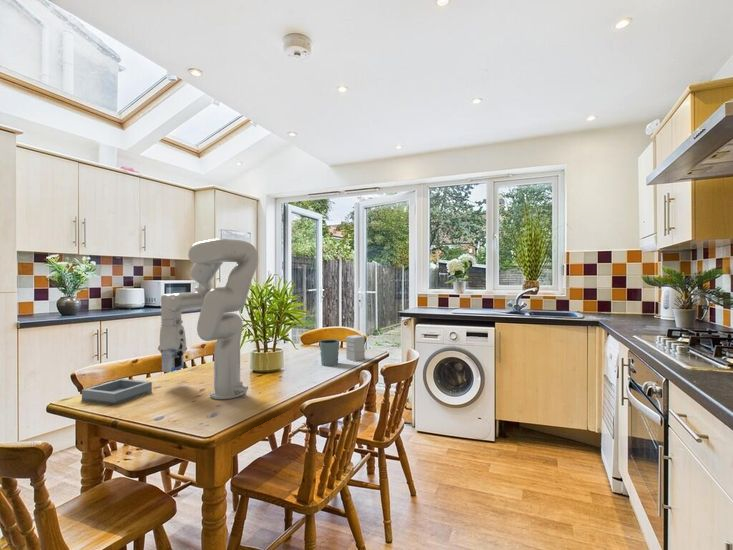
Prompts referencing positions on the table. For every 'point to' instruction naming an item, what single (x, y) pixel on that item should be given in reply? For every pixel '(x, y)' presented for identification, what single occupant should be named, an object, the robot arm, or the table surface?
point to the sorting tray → (116, 391)
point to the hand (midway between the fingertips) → (173, 365)
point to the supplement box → (355, 347)
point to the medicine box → (170, 361)
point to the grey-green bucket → (329, 352)
